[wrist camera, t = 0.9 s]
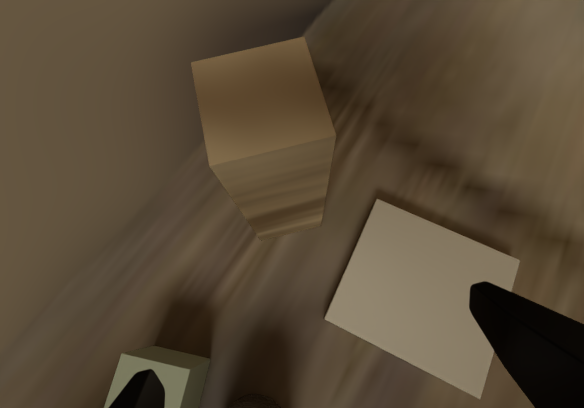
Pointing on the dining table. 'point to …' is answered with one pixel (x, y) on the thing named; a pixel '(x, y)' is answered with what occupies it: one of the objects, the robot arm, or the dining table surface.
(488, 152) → the dining table surface
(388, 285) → the tile
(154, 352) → the sage cube
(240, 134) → the oak block
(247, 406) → the grey cylinder
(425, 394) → the dining table surface
